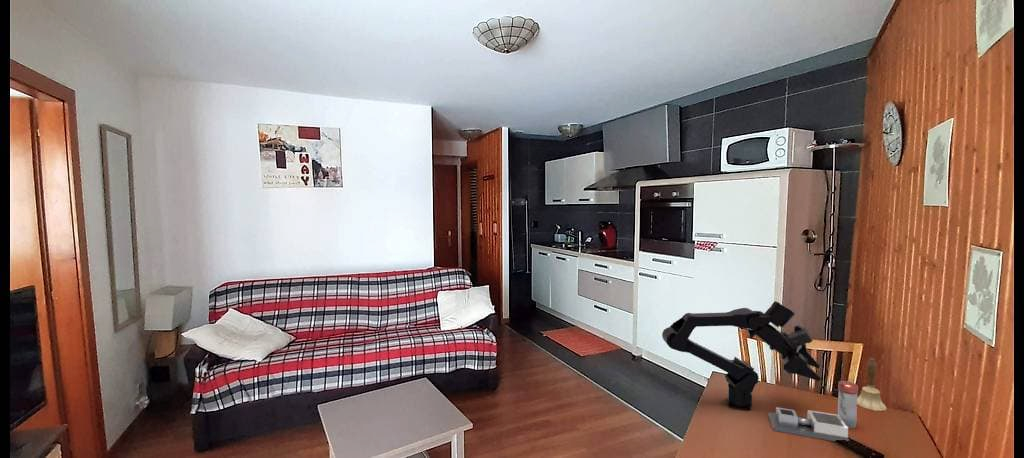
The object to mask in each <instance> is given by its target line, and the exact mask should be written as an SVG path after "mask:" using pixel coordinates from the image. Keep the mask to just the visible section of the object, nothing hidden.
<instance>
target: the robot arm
mask: <svg viewBox="0 0 1024 458" xmlns="http://www.w3.org/2000/svg"><path fill="white" fill-rule="evenodd" d="M795 315H796V313H795V312H794V311H792V310H791V309H789V308H788V307H786V306H784V305H782V304H781V303H780V302H778V301H777V300H776V301H773V302H772V304H771V305H770V306H769V307H768V309H767V310H766V311H765V312H764V311H763V312H762V311H761V310H752V309H750V308H748V307H742V308H741V307H740V308H737V309H733V310H731V311H727V312H700V313H699V312H698V313H692V312H687V313H685V314H684V315H682V316H681V318H679V319H677V320H676V321H675V322H673V323H671V324H670V325H669V326H668V327H666V328H665V329H663V331H662V332H661V337H662V340H663V341H664V342H665V343H666V345H667V346H668V347H669V348H670V349H672V350H674V351H679V352H680V353H687V354H691V355H692V356H695V357H696V358H698V359H701V360H702V361H704V362H707V363H708V364H710V365H712V366H715V368H718V369H720V370H723V371H725V372H726V373H725V375H724V378H725V380H726V382H728V383H727V398H726V401H728V402H727V405H728V406H729V407H728V408H731V409H733V408H734V409H739V410H743V411H751V410H752V409H751V407H752V406H753V403H752V401H753V395H752V393H753V391H754V389H755V387H756V385H757V384H758V383H759V375H758V373H757V371H756V370H755V367H753V366H751V365H750V364H749V363H748V362H747V361H746V360H741V359H739V358H738V357H736V356H734V358H733V359H729V358H726V357H725V356H723V355H720V354H718V353H717V352H715V351H713V350H710V349H709V348H708V347H707V348H706V347H704V346H703V345H700V344H699V343H697V342H694V341H693V340H691V339H690V336H691V335H692V333H693V331H694V329H695V328H697V327H728V326H729V327H736V328H740V329H744V330H746V331H747V337H748V338H750V339H753V338H754V337H755V336H756V337H757V338H759V339H760V340H761V341H763V343H765V344H766V345H767V346H769V347H768V348H769V350H771V351H775V352H777V353H778V354H779V355H781V356H780V358H781V359H782V360H783V370H784V371H785V372H787V373H788V374H789V375H791V374H792V375H798V376H802V377H805V378H808V379H811V380H813V381H817V382H820V381H821V380H822V378H821V376H820V375H819V374H818V373H817V372H816V371H815V370H814V369H812V367H813V368H815V369H819V368H820V367H821V366H820V364H819V363H818V362H817V360H816V359H815V358H814V357H813V356H812V354H810V352H809V351H808V350H807V344H811V343H812V342H813V341H814V340H813V336H812V335H811V333H810V331H809V329H807V328H806V327H802V326H801V325H799V324H797V325H795V326H794V327H793V331H791V333H786V332H785V331H782V332H781V331H779V330H778V329H777V328H779V327H780V328H784V327H785V326H786V325H787V324H788V323H789V322H790V321H791V320H792V318H793V317H794V316H795ZM774 326H775V327H774Z"/></svg>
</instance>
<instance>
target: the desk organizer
mask: <svg viewBox="0 0 1024 458" xmlns="http://www.w3.org/2000/svg"><path fill="white" fill-rule="evenodd" d="M768 419H769V421H770V425H771V426H772V430H773V431H774V432H781V433H786V434H791V435H797V436H802V437H809V438H814V439H820V440H825V441H830V442H835V441H836V440H846V441H849V442H850V439H849V427H847V426H846V424H845V423H844V421H843V420H842V419H841V417H840V416H839V415H838V414H836V413H829V412H822V411H816V410H811V409H810V410H809V409H808V410H807V417H801V416H798V415H797V412H796V411H795V410H794V409H791V408H790V409H789V408H784V407H778V406H777V407H775V412H770V411H769V412H768Z"/></svg>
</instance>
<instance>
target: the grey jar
mask: <svg viewBox="0 0 1024 458" xmlns="http://www.w3.org/2000/svg"><path fill="white" fill-rule="evenodd" d="M837 385H838V386H837V389H838V396H837V397H838V402H837V415H839V416H840V417H841V419H842V420H843V421H844V423H845V424H846V426H847V427H848V429H849V428H850V429H853V428H854V429H855V428H857V415H858V414H857V413H858V412H857V409H858V405H857V398H858V393H859V385H858V384H856V383H855V382H851V381H849V380H848V381H847V380H839V381H838V384H837Z"/></svg>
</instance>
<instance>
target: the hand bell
mask: <svg viewBox="0 0 1024 458" xmlns="http://www.w3.org/2000/svg"><path fill="white" fill-rule="evenodd" d="M877 371H878V366H877V362H876V359H875V358H873V357H870V358H868V361H867V363H866V373H867V378H868V379H867V385H866V386H862V388H861V392H860V394H859V396H857V406H858V407H861V408H863V409H866V410H870V411H875V412H885V411H887V410H888V408H887V406H886V405H885V403H884V402H883V401H882V399H881V392H880V390H879V389H877V388H876V385H875V376H876V375H877Z"/></svg>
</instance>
